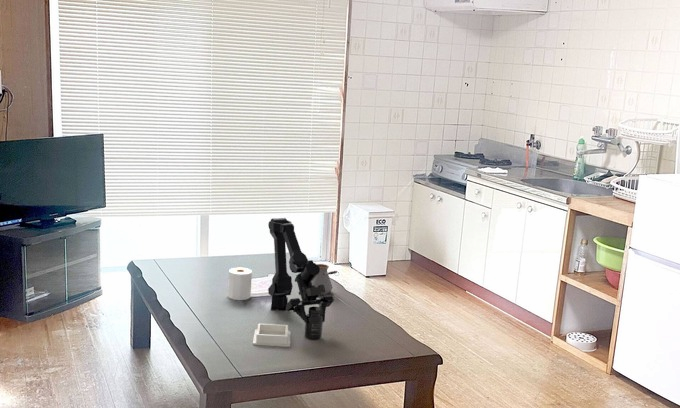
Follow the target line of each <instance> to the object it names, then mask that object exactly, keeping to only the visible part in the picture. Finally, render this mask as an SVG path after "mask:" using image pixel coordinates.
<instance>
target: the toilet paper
mask: <svg viewBox="0 0 680 408" xmlns="http://www.w3.org/2000/svg"><path fill="white" fill-rule="evenodd" d="M252 279H253V270H252V269H249V268H247V267H232V268H230V269H229V270H228V286H227V288H228V289H227V298H229V299H231V300H234V301H246V300H249V299H251V297H252V296H251V294H252Z"/></svg>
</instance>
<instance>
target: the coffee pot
mask: <svg viewBox="0 0 680 408" xmlns="http://www.w3.org/2000/svg"><path fill="white" fill-rule="evenodd" d="M316 264H317V265H318V266H319V268H320V272H319V274H318V275H317V276H316V277H315V278H314V280H313V281H312V285H313V286H315V287H318V285H324V287H325V292H324V293H322V295H321V296H326V295H328V294H329V293H330V292H331V291H332V289H333V284H332V281H331V278H330V275H333V274H334V275H335V276H339V274H340V272H338V270H333V271H332V270H331V271H329V272H328V269H329V265H328V264H323V263H319V264H318V263H316ZM337 273H338V275H337Z"/></svg>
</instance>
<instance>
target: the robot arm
mask: <svg viewBox="0 0 680 408" xmlns="http://www.w3.org/2000/svg"><path fill="white" fill-rule="evenodd" d="M268 229H269V234H270V235H271V237H272V239H273V245H274V246H273V247H274V248H273V249H274V265H275V268H274V270H275V273H274V275H273V277H272V278H271V279H272V280H271V285H270V286H269V287H268V289H267V291H268V295H269V296H271V303H270V304H271V305H270V310H271V311H282V312H284V311H285V312H286V311H287V312H292V313H295V314H297V315H298V317H299V318H301V319H302V321H303V322H304V324H305V323H306V324H308V319H307V316H306V315H307V313H306V309H305V308H306V306H315V305H318V307H319V308H321V315H322V316H323V323H325V319H326V310H327V308H328V307H330V306H331V305H332V304H333V303H334V302H335V298H334V297H333V295H331V294H329V295H328V294H326V295H322V293H324V292H325V287H324V285H318V287H315V286H313V285H312V281H313V280H314V278H315V277H316V276H317V275H318V274H319V272H320V268H319V266H318V265H317V264H318V263H316V262H314V260H313V259H311V260H309V259H308V257H307V255H306V254H305V253H304V252H302V249H301V248H300V245H299V244H300V243H299V241H298V238H297V235H296V233H295V232H296V231H295V226H294V224H293V223H292V221H290V220H287V218H286V217H280V218H278V217H277V218H276V217H274V218H270V220H269V222H268ZM286 248H287V249H286ZM286 250H288V254H289V259H288V265H289V269H290V271H291V273H293V274H297V273H298V274H297V275H295V276H296V277H295V278H294V282H296V284H297V287H298V290H299V292H298V295H299V296H300V298H301V299H300V298H298V297H297V298H290V299H289V297H288V296H291V294H292V289H293V287H294V286H293V282H292V281H293V280H292V276H291V275H290V274H289V272H288V267H287V251H286ZM320 296H322V297H321V298H319V297H320ZM318 298H319V299H318ZM288 299H289V300H288Z"/></svg>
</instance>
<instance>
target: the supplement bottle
mask: <svg viewBox="0 0 680 408" xmlns="http://www.w3.org/2000/svg"><path fill="white" fill-rule="evenodd" d="M307 312H308V313H306V316H307V319H308V324H306V323H305V322H304V324H305V325H304V337H305V338H306V339H307V340H311V341H318V340H320V339H322V336H323V323H324V322H323V316H322V315H321V308H319V306H310V307H309V308H308V311H307Z"/></svg>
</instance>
